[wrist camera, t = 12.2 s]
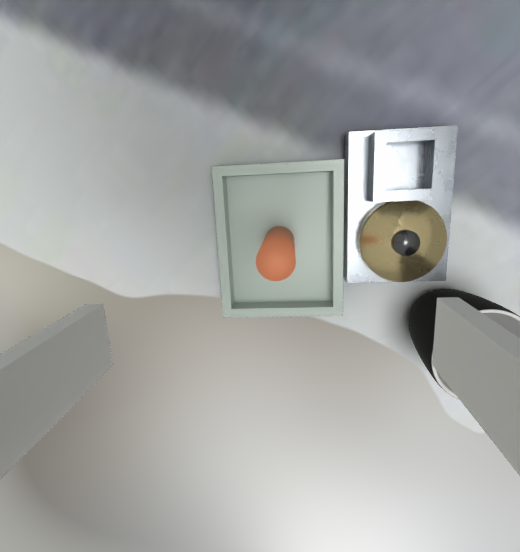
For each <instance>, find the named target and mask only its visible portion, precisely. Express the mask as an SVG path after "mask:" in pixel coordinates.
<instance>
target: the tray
mask: <svg viewBox="0 0 520 552" xmlns="http://www.w3.org/2000/svg"><path fill="white" fill-rule="evenodd" d="M211 167H212V180H213V193H214V206H215V219H216V232H217V245H218V258H219V271H220V284H221V297H222V309H223V318H230V317H286V316H287V317H292V316H343V234H344V159H338V160H319V161H301V162H283V163H265V164H247V165H228V166H211ZM276 226H283V227H286V228H288V229H289V230H290V231H291V232H292V234H293V236H294V243H295V256H296V265H295V269H294V271H293V273H292V274H291V275H290V276H289V277H288V278H286V279H284V280H282V281H270V280H268V279H266V278H264V277H263V276H262V275H261V274H260V273H259V272H258V270H257V267H256V256H257V254H258V251H259V249H260V247H261V245H262V243H263V241H264V239H265V236H266V234H267V233H268V231H269V230H270V229H272V228H273V227H276Z"/></svg>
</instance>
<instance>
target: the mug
mask: <svg viewBox="0 0 520 552" xmlns="http://www.w3.org/2000/svg"><path fill="white" fill-rule="evenodd" d="M446 297H459V298H460V299H462V300H463V301H465V302H466V303H468V304H469V305H471V306H472V307H474V308H475V309H477V310H478V311H480V312H481V313H483V314H484V315H486V316H487V317H489V318H490V319H492V320H493V321H495V322H496V323H498V324H499V325H501V326H502V327H504V328H505V329H507V330H508V331H510V332H511V333H513V334H514V335H516V336H517V337H519V338H520V316H518V315H517V314H515V313H513V312H512V311H510V310H508V309H506V308H504V307H502V306H500V305H498V304H496V303H493V302H491V301H489V300H486V299H484V298H481V297H479V296H476V295H473V294H470V293H466V292H463V291H458V290H451V289H441V290H435V291H432V292H429V293H427V294H425V295H424V296H422V297H421V298H420V299H419V300H418V301H417V302H416V303H415V304H414V306H413V307H412V309H411V312H410V315H409V331H410V334H411V338H412V340H413V343H414V345H415V348H416V350H417V352H418V353H419V355H420V357H421V359H422V361H423V363H424V364H425V366H426V368H427V369H428V371H429V372H430V374H431V375H432V377H433V378H434V379H435V381H436V382H437V383H438V384H439V386H440V387H441V388H442V389H443V390H444V391H446V392H447V393H448V394H450V395H451V396H453V397H455V398H457V399H459V398H458V397H457V395H456V394H455V393H454V392H453V390H452V389H451V388H450V387H449V385H448V384H447V383H446V381H445V380H444V379H443V378H442V376H441V375H440V374H439V373H438V371H437V370H436V369H435V368H434V366H433V365H432V358H433V345H434V332H435V319H436V306H437V298H446ZM459 400H460V399H459Z"/></svg>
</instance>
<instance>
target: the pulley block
mask: <svg viewBox="0 0 520 552" xmlns="http://www.w3.org/2000/svg"><path fill="white" fill-rule="evenodd" d="M457 130H458V125H453V126H437V127H421V128H404V129H388V130H372V131H356V132H348V133H347V134H346V135H345V196H344V278H345V280H346V282H347V283H361V282H407V281H444V280H446V269H447V256H448V244H449V231H450V219H451V206H452V193H453V181H454V168H455V156H456V143H457Z"/></svg>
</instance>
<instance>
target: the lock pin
mask: <svg viewBox="0 0 520 552" xmlns="http://www.w3.org/2000/svg"><path fill="white" fill-rule="evenodd" d="M295 265H296V256H295V243H294V236H293V234H292V232H291V231H290V230H289V229H288V228H286V227H283V226H276V227H273V228H272V229H270V230H269V231H268V233H267V234H266V236H265V239H264V241H263V243H262V245H261V247H260V249H259V251H258V254H257V256H256V267H257V270H258V272H259V273H260V274H261V275H262V276H263V277H264V278H266V279H268V280H270V281H282V280H284V279H286V278H288V277H289V276H290V275H291V274H292V273H293V271H294V269H295Z"/></svg>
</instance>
